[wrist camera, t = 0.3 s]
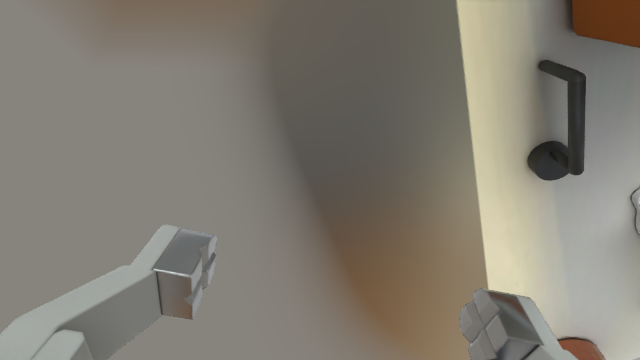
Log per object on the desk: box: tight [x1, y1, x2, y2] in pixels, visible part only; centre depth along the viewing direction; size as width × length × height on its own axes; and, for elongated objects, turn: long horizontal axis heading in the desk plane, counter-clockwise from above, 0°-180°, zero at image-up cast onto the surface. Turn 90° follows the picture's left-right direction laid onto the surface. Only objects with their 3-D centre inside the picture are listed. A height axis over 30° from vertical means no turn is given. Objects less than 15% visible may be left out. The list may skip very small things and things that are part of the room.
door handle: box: [528, 60, 586, 180], centre depth 37 cm, size 16×5×7 cm, turn 22°
